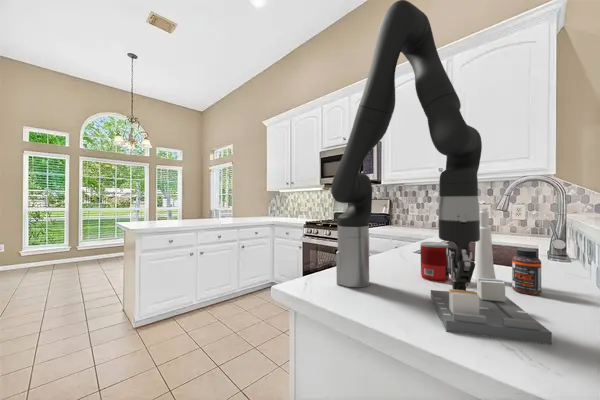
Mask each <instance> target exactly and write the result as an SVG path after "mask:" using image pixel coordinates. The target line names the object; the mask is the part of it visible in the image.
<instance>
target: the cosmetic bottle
mask: <svg viewBox="0 0 600 400" xmlns="http://www.w3.org/2000/svg"><path fill="white" fill-rule="evenodd" d="M479 208H480V240H479V241H477V242H475V249H474V250H475V251H474V263H475V268H474V271H473V275H472V278H471V279H472V280H474V281H476V282H477V278H484V279H497V278H496V271H495V267H494V258H493V257H494V255H493V244H492V243H493V242H492V241H493V240H492V239H493V238H492V228H491V227H490V215H489V214H490V213H489V211H488V208H484V207H479Z"/></svg>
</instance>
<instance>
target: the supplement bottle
mask: <svg viewBox="0 0 600 400" xmlns="http://www.w3.org/2000/svg"><path fill="white" fill-rule="evenodd" d="M511 260H512V261H511V265H512V266H511V267H512V268H511V269H512V274H511V276H512V277H511V279H512V280H511V284H512V285H511V287H512V289H513V291H515V292H517V293H520V294H524V295H531V296H538V295H541V294H542V260H541V259H540V258H539V257H537V250H535V249H532V248H522V247H521V248H519V247H518V248H516V255H514V256H513V257H512V259H511Z"/></svg>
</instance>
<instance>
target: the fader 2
mask: <svg viewBox="0 0 600 400" xmlns="http://www.w3.org/2000/svg"><path fill="white" fill-rule="evenodd" d="M476 292H477V295H478V296H479V297H480V298H481V299H482V300H493V301H504V302H505V296H506V283H505V282H504V280H502V279H497V278H496V279H484V278H477V281H476Z"/></svg>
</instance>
